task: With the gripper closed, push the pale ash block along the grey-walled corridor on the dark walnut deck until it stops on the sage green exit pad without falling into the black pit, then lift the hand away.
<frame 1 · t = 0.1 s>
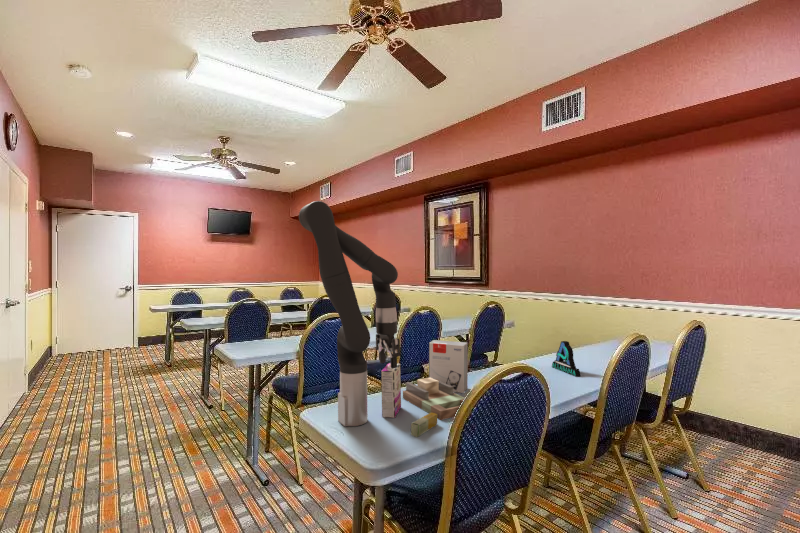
hand: (388, 365, 143), 17 cm above the table, tool pointing down, fingers open, 8 cm apart
candy bar box: (391, 412, 144), on the table
corridor deck: (438, 404, 152), on the table
hard drive box: (448, 389, 171), on the table
decorative sign: (565, 372, 197), on the table
medication box: (424, 430, 128), on the table
ash block: (428, 391, 158), point 3 cm above the table, touching corridor deck
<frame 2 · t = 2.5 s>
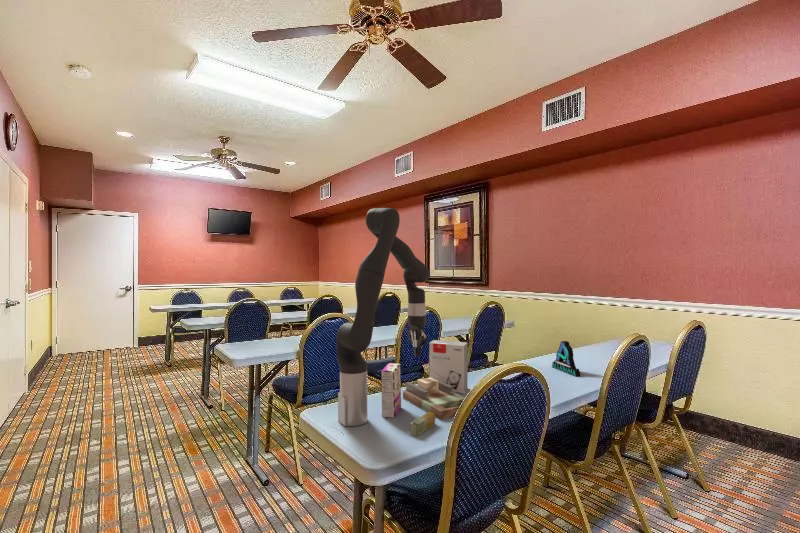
hand: (417, 356, 165), 16 cm above the table, tool pointing down, fingers closed
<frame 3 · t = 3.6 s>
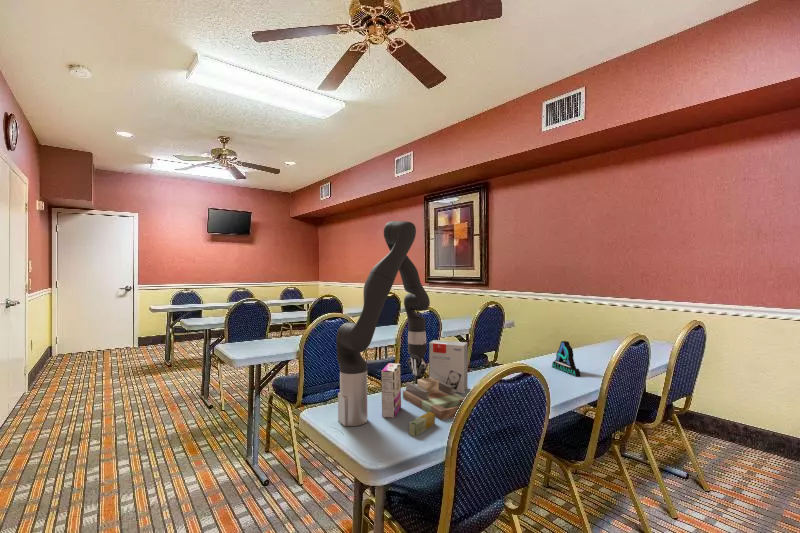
hand: (417, 383, 165), 4 cm above the table, tool pointing down, fingers closed
nothing on the table moved.
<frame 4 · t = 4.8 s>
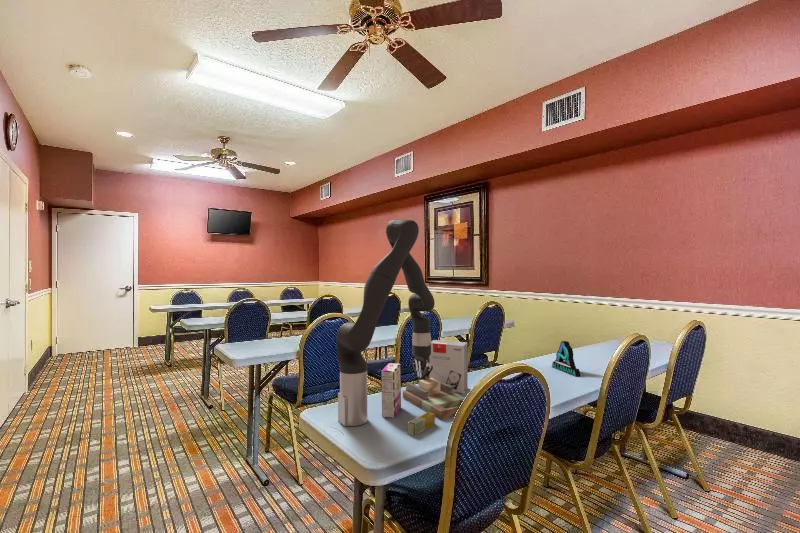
hand: (421, 386, 162), 4 cm above the table, tool pointing down, fingers closed
ash block: (429, 392, 157), point 3 cm above the table, touching corridor deck, gripper
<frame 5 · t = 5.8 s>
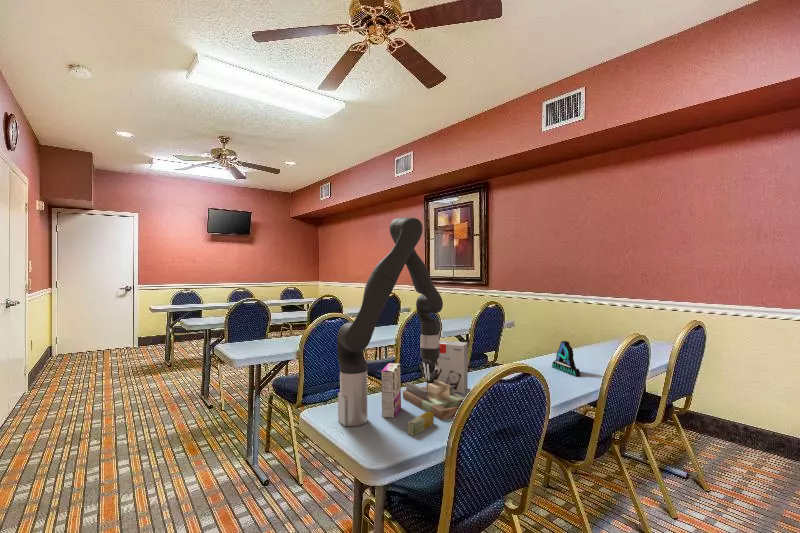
hand: (430, 389, 157), 4 cm above the table, tool pointing down, fingers closed
ash block: (438, 396, 152), point 3 cm above the table, touching corridor deck, gripper
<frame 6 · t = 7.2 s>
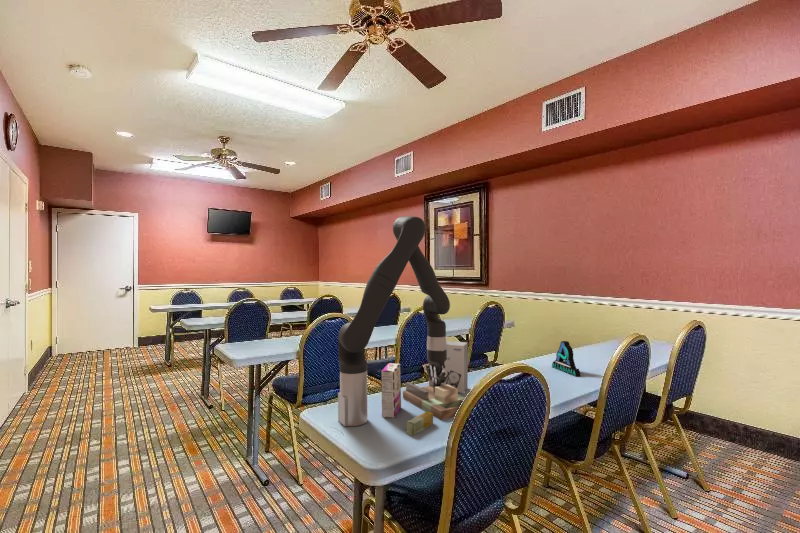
hand: (437, 393, 152), 4 cm above the table, tool pointing down, fingers closed
ash block: (446, 400, 148), point 3 cm above the table, touching gripper
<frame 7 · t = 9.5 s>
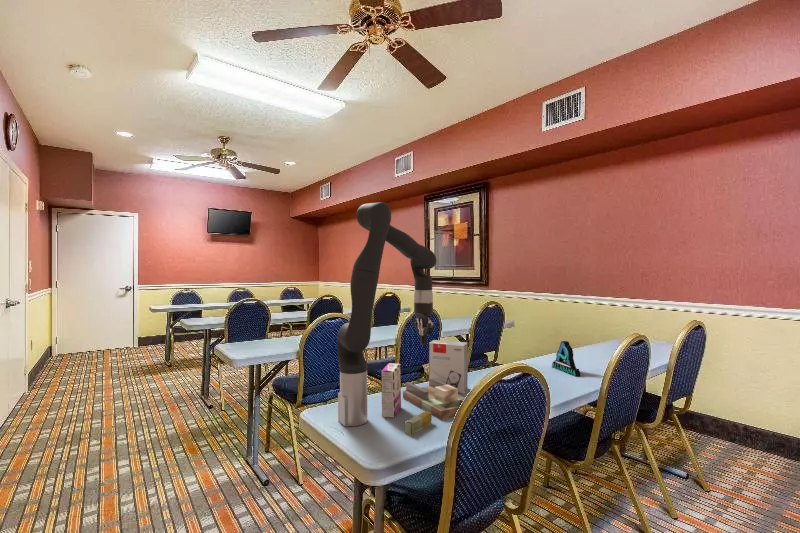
hand: (423, 344, 160), 21 cm above the table, tool pointing down, fingers closed
ash block: (446, 400, 148), point 3 cm above the table, touching corridor deck
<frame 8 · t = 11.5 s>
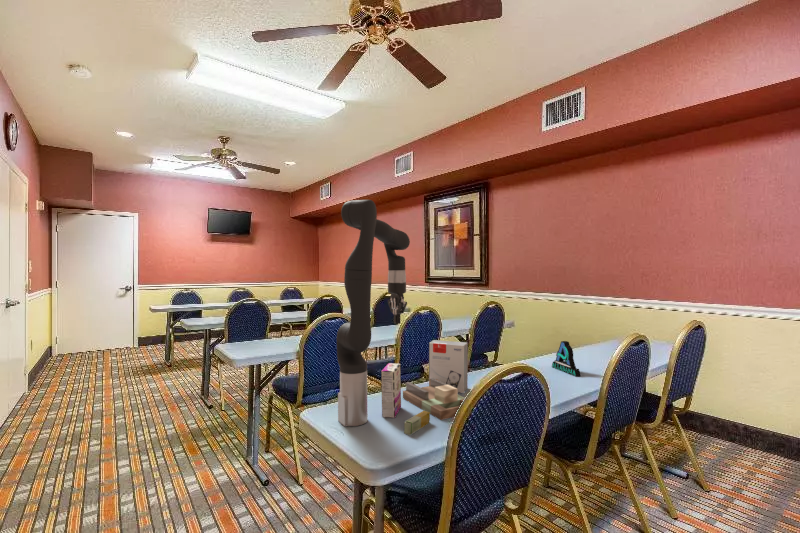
hand: (397, 323, 165), 29 cm above the table, tool pointing down, fingers closed
at the end: ash block 1.6 cm from the target spot, point 3.0 cm above the table; ash block tilted 0° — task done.
